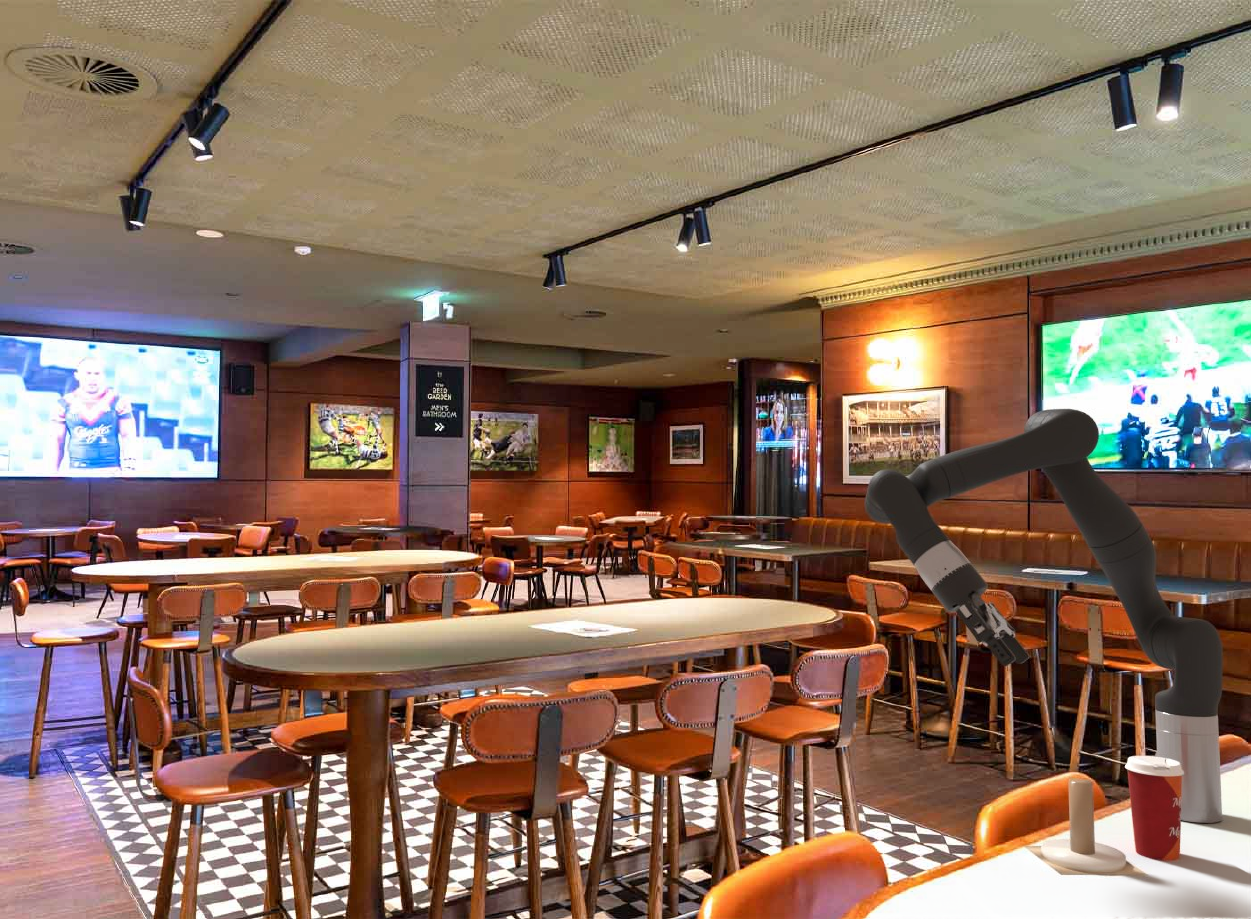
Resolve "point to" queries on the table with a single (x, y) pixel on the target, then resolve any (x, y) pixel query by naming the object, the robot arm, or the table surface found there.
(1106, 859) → the beige peg stand
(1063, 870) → the cork mat
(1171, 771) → the paper cup
